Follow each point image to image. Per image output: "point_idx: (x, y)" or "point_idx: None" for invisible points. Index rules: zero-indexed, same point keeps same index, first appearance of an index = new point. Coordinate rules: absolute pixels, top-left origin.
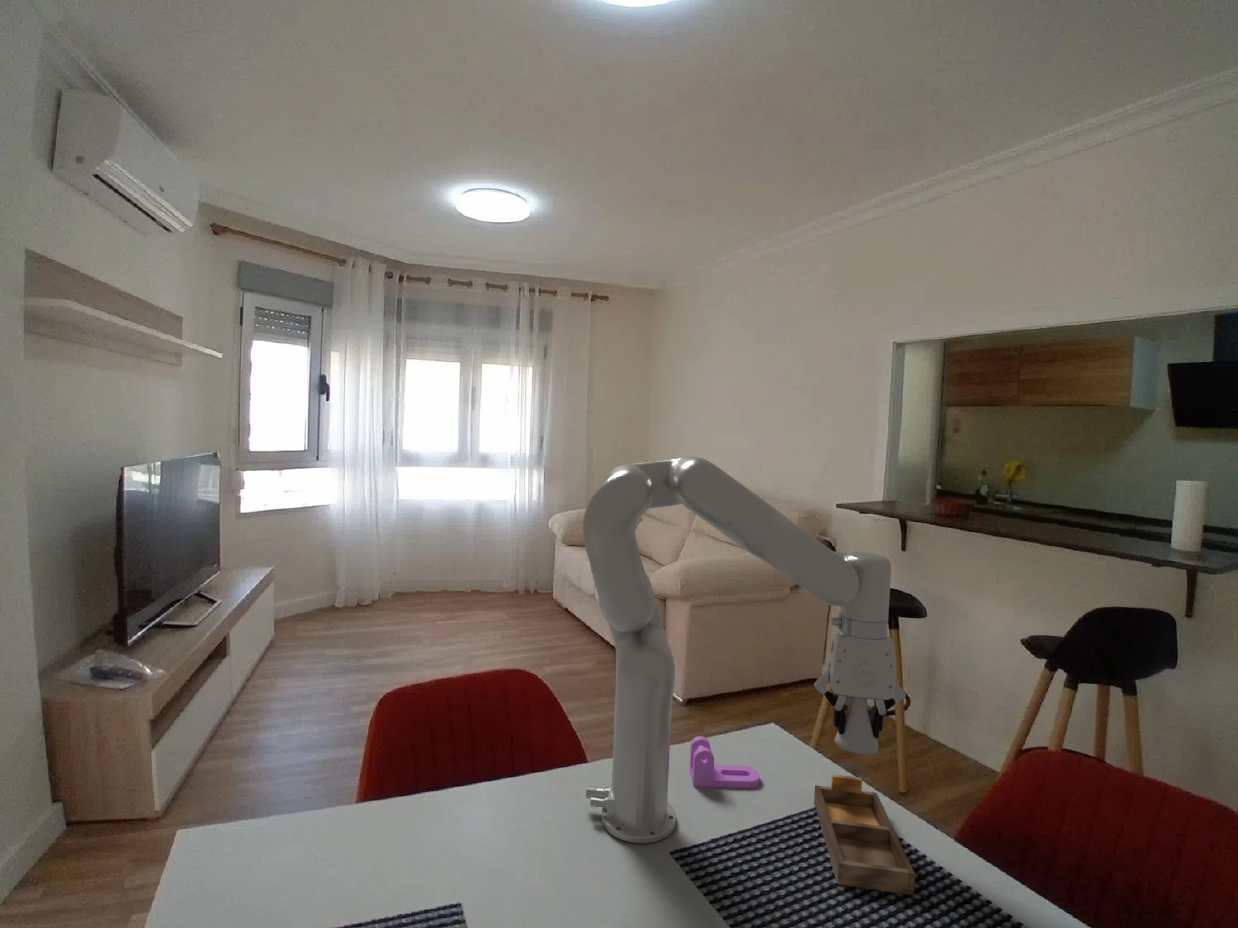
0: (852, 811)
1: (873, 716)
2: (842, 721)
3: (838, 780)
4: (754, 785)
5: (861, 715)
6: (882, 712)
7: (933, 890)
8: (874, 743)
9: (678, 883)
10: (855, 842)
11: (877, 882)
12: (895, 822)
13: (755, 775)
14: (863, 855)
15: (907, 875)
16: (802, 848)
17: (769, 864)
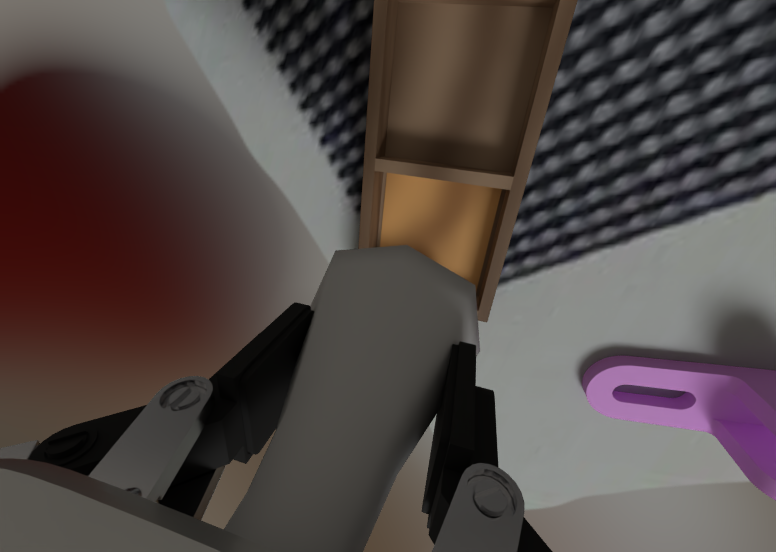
0: None
1: (264, 394)
2: (462, 388)
3: None
4: (608, 359)
5: (333, 396)
6: (190, 392)
7: (341, 19)
8: (325, 281)
9: None
10: (457, 155)
11: None
12: (343, 242)
13: (600, 383)
14: (458, 107)
15: None
16: (597, 138)
17: (743, 53)
